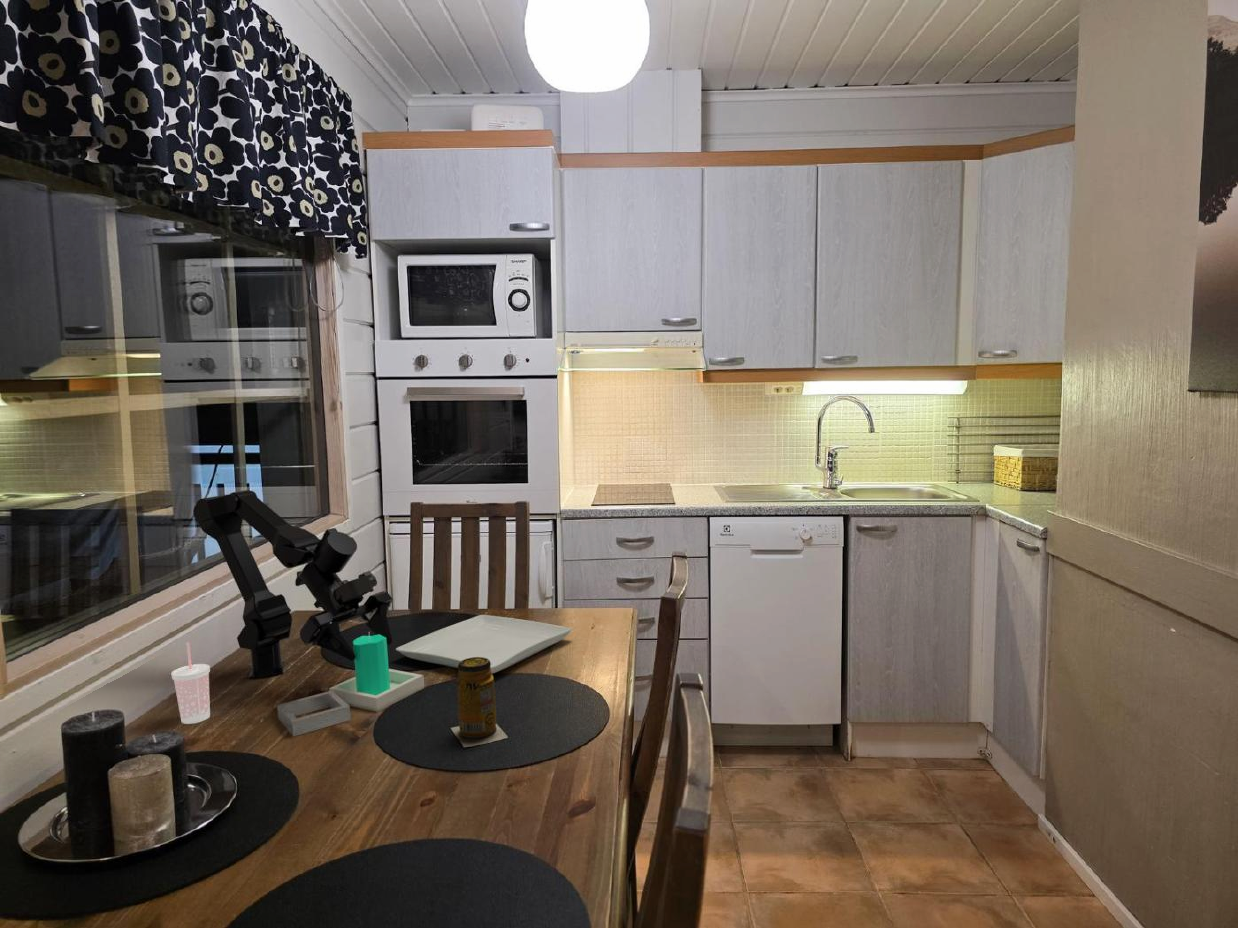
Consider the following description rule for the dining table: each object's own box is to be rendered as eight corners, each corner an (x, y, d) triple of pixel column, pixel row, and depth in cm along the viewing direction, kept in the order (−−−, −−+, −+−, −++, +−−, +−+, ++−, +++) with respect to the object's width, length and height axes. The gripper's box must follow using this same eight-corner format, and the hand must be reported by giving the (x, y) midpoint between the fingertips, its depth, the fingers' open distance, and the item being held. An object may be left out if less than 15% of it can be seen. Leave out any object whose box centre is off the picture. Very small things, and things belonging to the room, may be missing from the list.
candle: (389, 697, 148) (384, 634, 147) (355, 701, 147) (349, 637, 146) (391, 685, 154) (386, 624, 153) (359, 689, 153) (353, 628, 152)
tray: (330, 701, 149) (329, 688, 149) (378, 678, 159) (377, 666, 159) (377, 711, 143) (376, 698, 143) (424, 687, 154) (423, 675, 153)
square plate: (575, 642, 177) (574, 625, 177) (492, 686, 154) (491, 666, 154) (482, 627, 192) (481, 611, 191) (394, 664, 169) (392, 646, 168)
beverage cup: (208, 708, 148) (200, 634, 147) (219, 717, 144) (212, 641, 143) (171, 719, 144) (163, 643, 143) (182, 728, 140) (174, 650, 138)
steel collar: (278, 718, 142) (277, 704, 142) (333, 703, 148) (332, 690, 148) (293, 736, 135) (292, 722, 134) (350, 719, 140) (349, 706, 140)
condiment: (492, 719, 138) (488, 651, 137) (508, 738, 130) (504, 666, 129) (450, 729, 135) (445, 659, 133) (464, 749, 127) (459, 675, 126)
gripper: (305, 572, 143) (353, 640, 139) (382, 550, 159) (428, 611, 155) (279, 611, 148) (325, 678, 144) (357, 585, 164) (401, 645, 160)
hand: (373, 651), depth 151 cm, fingers open, 9 cm apart
